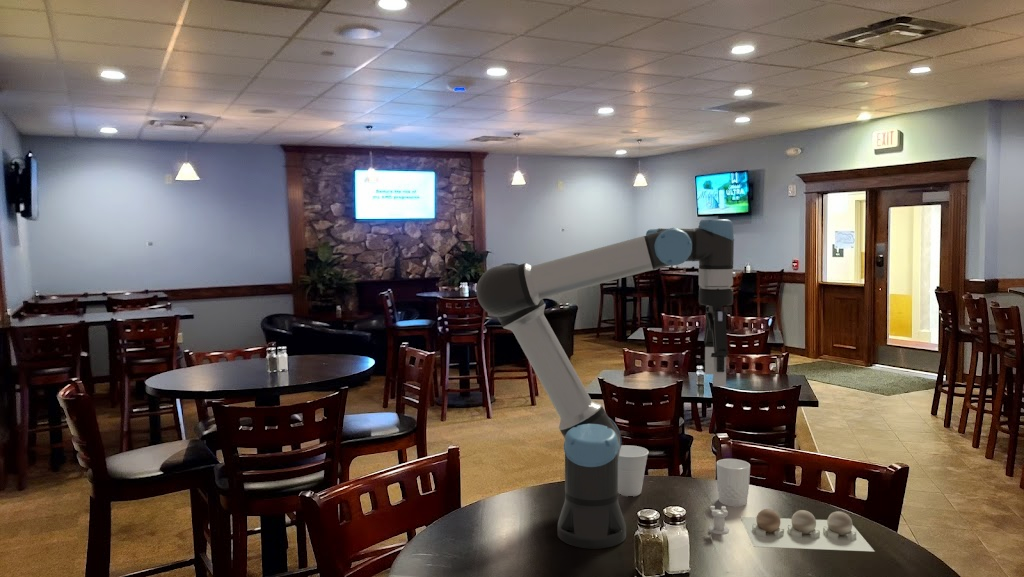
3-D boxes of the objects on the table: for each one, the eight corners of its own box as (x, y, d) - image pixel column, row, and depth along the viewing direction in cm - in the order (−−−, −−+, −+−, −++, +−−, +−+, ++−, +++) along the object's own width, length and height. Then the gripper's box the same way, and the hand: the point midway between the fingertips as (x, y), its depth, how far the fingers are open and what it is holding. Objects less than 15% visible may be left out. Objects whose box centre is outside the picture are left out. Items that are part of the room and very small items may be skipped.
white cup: (745, 498, 182) (746, 458, 181) (753, 510, 174) (753, 469, 173) (713, 497, 182) (713, 458, 182) (719, 509, 175) (719, 468, 174)
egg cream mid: (794, 537, 157) (794, 514, 156) (788, 528, 162) (789, 506, 161) (818, 538, 156) (819, 515, 156) (812, 528, 161) (812, 506, 160)
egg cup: (710, 536, 159) (710, 512, 159) (707, 528, 164) (707, 504, 163) (730, 537, 159) (730, 512, 158) (727, 528, 163) (727, 505, 163)
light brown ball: (758, 536, 158) (759, 514, 157) (754, 526, 162) (754, 504, 162) (782, 537, 157) (783, 515, 156) (777, 527, 162) (777, 505, 161)
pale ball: (831, 538, 156) (831, 516, 155) (824, 529, 161) (824, 507, 160) (855, 539, 155) (856, 517, 155) (847, 530, 160) (848, 508, 160)
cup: (609, 498, 182) (608, 456, 181) (610, 485, 192) (610, 444, 191) (649, 500, 181) (649, 457, 180) (648, 486, 190) (648, 445, 190)
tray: (754, 549, 152) (754, 541, 152) (740, 519, 168) (740, 512, 168) (874, 554, 149) (875, 546, 149) (849, 523, 165) (849, 516, 165)
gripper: (742, 292, 152) (741, 392, 154) (724, 283, 177) (723, 369, 178) (706, 292, 153) (705, 391, 155) (692, 283, 178) (692, 369, 179)
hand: (715, 380), depth 166 cm, fingers open, 13 cm apart
